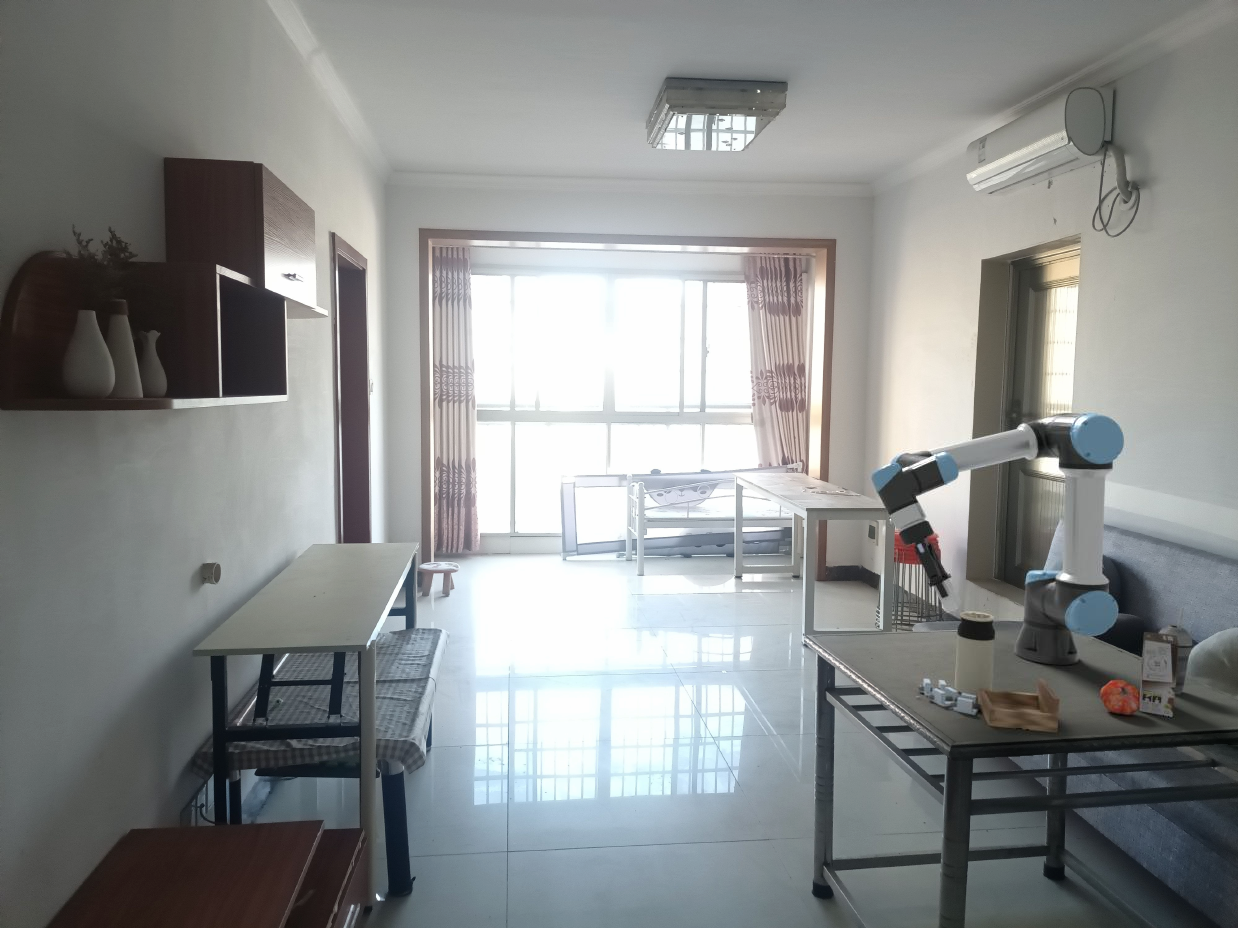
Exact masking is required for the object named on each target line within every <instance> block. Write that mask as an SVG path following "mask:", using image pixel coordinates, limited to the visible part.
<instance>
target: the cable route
mask: <svg viewBox="0 0 1238 928" xmlns="http://www.w3.org/2000/svg"><path fill="white" fill-rule="evenodd" d="M931 685H932V684H931V681H930V678H923V685H919V686H917V690H918V691H920V692H923V694H924V696H925V697H927V699H929V700H930V701H931V702H933V703H935V704H936V705H938V706H941V707H943V708H945V707H952V708H953V711H954V712H959V713H963V714H968V715H973V716H976V714H977V713H978V712H979V710H980V704H977V703H978V697H977V696H975V695H970V694H965V693H960V696H959V691H957V690H956V689H955V688H952V687H950V686H947V683H946V681H945V680H943V679H938V686H931ZM980 711H981V710H980Z"/></svg>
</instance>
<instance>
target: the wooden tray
mask: <svg viewBox="0 0 1238 928" xmlns="http://www.w3.org/2000/svg"><path fill="white" fill-rule="evenodd" d="M976 704H980V711H981V714H982V715H983V717H984V719H985V721H986V723H987V725H988V727H996V728H1008V729H1016V728H1022V729H1021V730H1026V729H1029V730H1028V731H1038V732H1046V733H1047V732H1048V733H1056V734H1057V733H1058V730H1059V729H1058V728H1059V716H1060V715H1059V711H1060V698H1059V697H1058V695H1057V694H1056V693H1055V692H1054V691H1053V689H1051V687H1050V686H1049V684H1048V683H1047V682H1046V680H1044V678H1037V687H1036V693H1029V692H1019V691H1007V690H998V689H997V690H996V689H992V690H988V689H978V697H977V702H976Z"/></svg>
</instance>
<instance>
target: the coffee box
mask: <svg viewBox="0 0 1238 928" xmlns="http://www.w3.org/2000/svg"><path fill="white" fill-rule="evenodd" d="M1178 646H1179V644H1178V640H1177V636H1176V635H1169V634H1161V633H1159V632H1151V631H1144V632H1143V643H1142V653H1141V654H1142V655H1141V671H1140V686H1139V687H1140V689H1139V694H1140V698H1139V712H1143V713H1150V714H1155V715H1160V716H1163V715H1164V716H1165V717H1168V716H1169V718H1170V717H1171V718H1172V717H1173V716H1174V707H1175V706H1174V705H1175V697H1176V694H1175V685H1176V672H1177V659H1178Z"/></svg>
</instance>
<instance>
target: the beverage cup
mask: <svg viewBox="0 0 1238 928" xmlns="http://www.w3.org/2000/svg"><path fill="white" fill-rule="evenodd" d="M1184 611H1185V608H1183V607H1181V609H1180V614H1179V618H1178V623H1177V625H1171V624H1170V625H1167V626H1165V627H1163V628H1161V630H1160V631H1159V632H1158V633H1161V634H1169V635H1176V636H1177V640H1178V644H1179V646H1178V659H1177V672H1176V685H1175V695H1182V694H1183V690H1184V687H1185V681H1186V676H1187V669H1188V664H1189V659H1190V655H1191V652H1192V650H1193V649H1192V648H1193V647H1194V644H1193V639H1192V637H1191V634H1190V633H1189V632H1188V631H1187V630H1186V629H1185V628H1183V627H1182V626H1181V625H1182V621H1183V615H1184ZM1181 693H1182V694H1181Z"/></svg>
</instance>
